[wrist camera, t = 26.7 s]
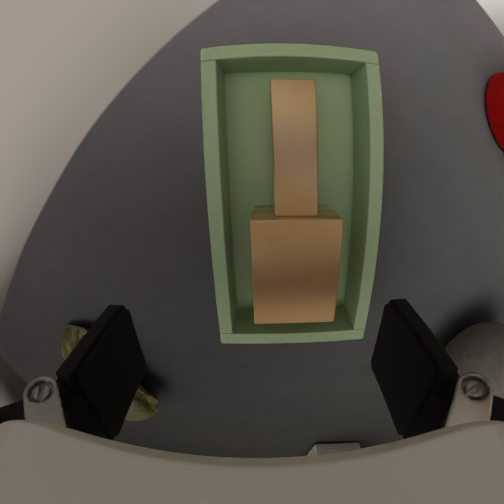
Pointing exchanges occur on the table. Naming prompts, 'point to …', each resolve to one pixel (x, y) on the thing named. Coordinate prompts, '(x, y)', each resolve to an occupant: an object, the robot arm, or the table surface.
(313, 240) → the brush
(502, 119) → the soda can
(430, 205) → the table surface
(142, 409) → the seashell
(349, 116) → the bin
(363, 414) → the table surface
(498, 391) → the decorative ball
